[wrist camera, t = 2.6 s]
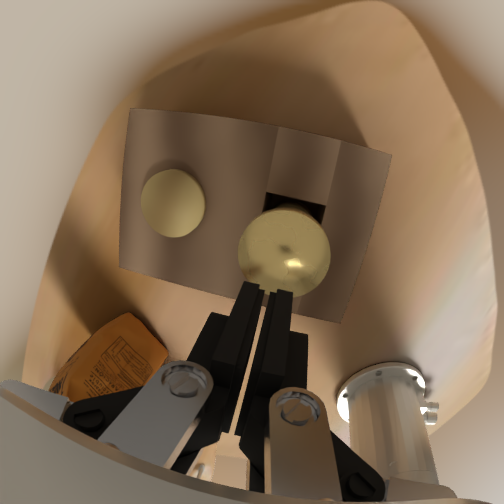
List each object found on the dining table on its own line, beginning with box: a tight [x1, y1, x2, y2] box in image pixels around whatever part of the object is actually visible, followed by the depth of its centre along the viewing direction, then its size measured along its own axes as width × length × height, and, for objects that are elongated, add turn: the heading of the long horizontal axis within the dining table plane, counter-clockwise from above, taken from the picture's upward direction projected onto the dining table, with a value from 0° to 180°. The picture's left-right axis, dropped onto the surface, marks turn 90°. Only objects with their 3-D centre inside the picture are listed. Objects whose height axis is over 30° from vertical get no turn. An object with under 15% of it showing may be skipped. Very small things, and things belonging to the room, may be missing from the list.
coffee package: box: [49, 313, 168, 402], centre depth 31 cm, size 10×12×22 cm
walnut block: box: [119, 108, 392, 323], centre depth 26 cm, size 20×14×9 cm
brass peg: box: [238, 200, 331, 297], centre depth 21 cm, size 5×5×8 cm
